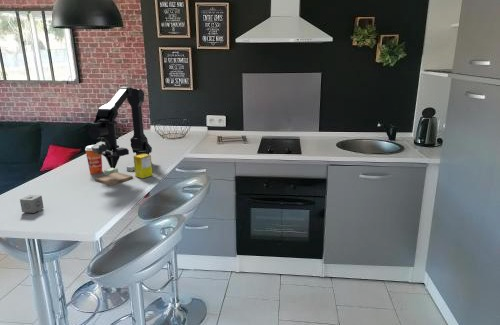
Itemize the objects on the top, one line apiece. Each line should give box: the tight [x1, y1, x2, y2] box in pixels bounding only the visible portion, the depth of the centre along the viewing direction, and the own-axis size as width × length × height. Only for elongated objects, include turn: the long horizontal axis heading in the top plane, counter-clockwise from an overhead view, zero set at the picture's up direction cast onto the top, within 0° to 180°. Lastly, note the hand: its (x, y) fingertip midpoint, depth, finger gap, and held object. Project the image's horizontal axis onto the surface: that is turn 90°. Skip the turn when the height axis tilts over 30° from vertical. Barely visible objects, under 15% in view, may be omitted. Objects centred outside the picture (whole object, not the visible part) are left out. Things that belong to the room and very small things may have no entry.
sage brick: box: [103, 167, 119, 176], centre depth 179 cm, size 6×3×3 cm, turn 159°
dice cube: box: [19, 194, 45, 214], centre depth 136 cm, size 5×5×5 cm
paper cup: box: [84, 144, 103, 175], centre depth 180 cm, size 8×8×14 cm
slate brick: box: [126, 163, 135, 172], centre depth 185 cm, size 6×3×3 cm, turn 159°
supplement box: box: [133, 154, 153, 180], centre depth 174 cm, size 6×6×11 cm
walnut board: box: [94, 171, 134, 186], centre depth 171 cm, size 12×12×2 cm
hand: (112, 167), depth 169 cm, fingers closed
